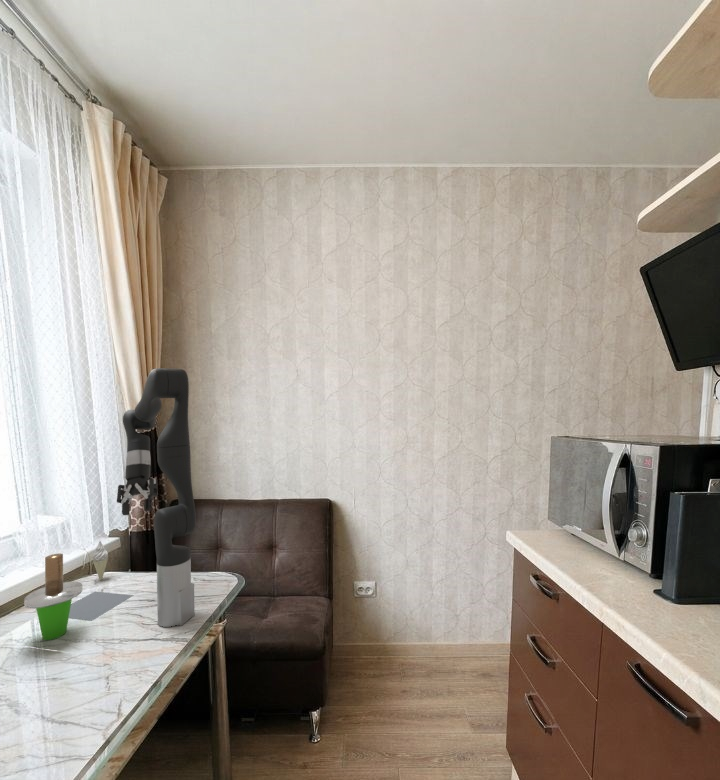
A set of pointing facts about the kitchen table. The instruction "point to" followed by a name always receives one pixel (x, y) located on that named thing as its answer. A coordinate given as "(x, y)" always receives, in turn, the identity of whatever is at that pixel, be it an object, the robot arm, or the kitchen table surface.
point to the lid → (53, 586)
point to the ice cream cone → (100, 560)
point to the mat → (95, 605)
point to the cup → (54, 620)
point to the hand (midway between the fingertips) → (136, 513)
